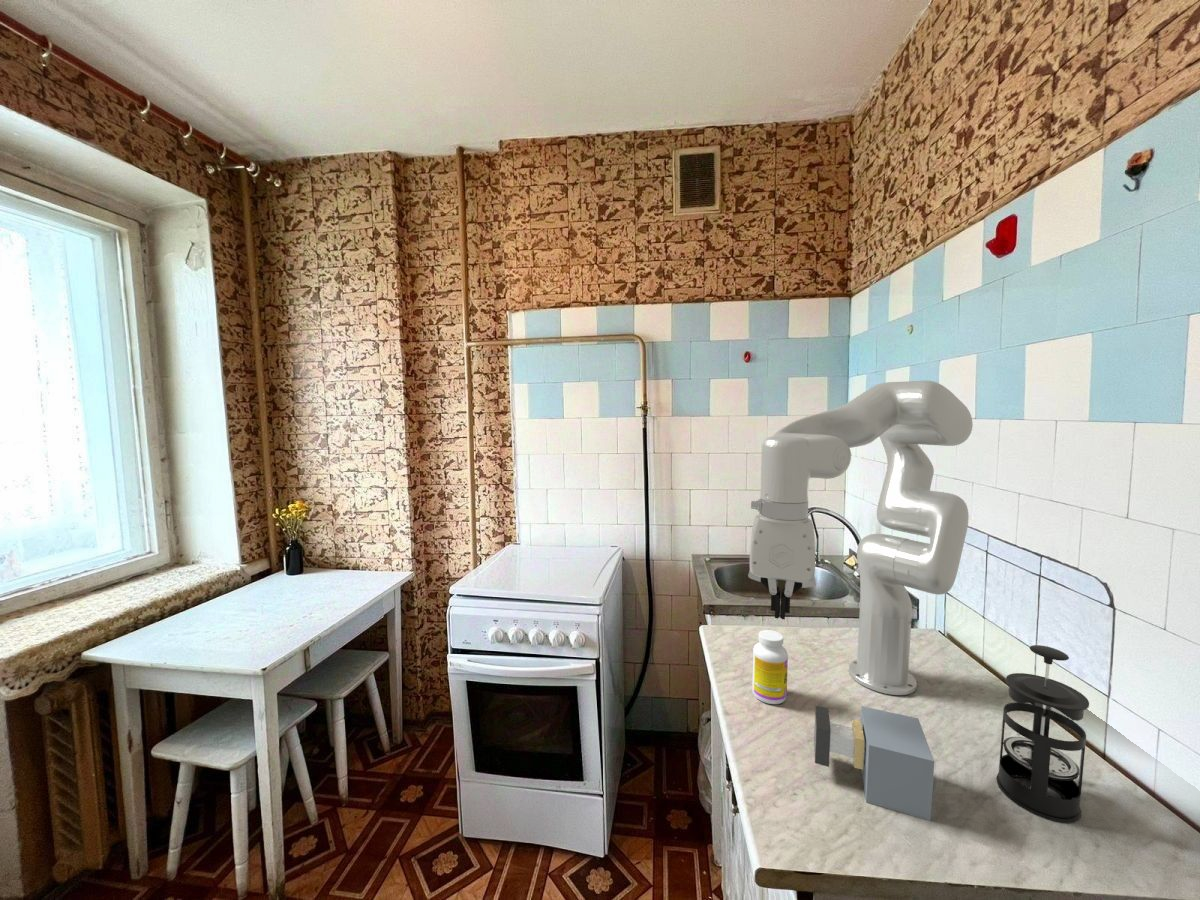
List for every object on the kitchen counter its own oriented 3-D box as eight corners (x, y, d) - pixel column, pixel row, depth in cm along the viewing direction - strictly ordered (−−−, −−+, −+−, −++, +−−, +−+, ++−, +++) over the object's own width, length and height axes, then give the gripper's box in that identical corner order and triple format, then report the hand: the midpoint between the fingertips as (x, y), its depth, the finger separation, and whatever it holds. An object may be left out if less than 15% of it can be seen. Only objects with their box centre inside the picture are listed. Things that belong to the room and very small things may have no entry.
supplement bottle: (789, 707, 92) (791, 644, 91) (754, 703, 93) (755, 641, 92) (783, 688, 98) (785, 629, 97) (750, 684, 100) (751, 626, 99)
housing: (858, 756, 79) (861, 705, 78) (915, 771, 76) (918, 718, 75) (866, 802, 70) (869, 745, 69) (930, 820, 67) (934, 761, 66)
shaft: (814, 738, 80) (815, 705, 79) (915, 764, 74) (917, 728, 73) (814, 763, 74) (816, 727, 74) (924, 792, 68) (926, 754, 68)
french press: (1083, 839, 64) (1098, 677, 62) (993, 799, 70) (1004, 652, 68) (1078, 788, 72) (1091, 645, 70) (998, 757, 79) (1008, 625, 77)
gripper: (734, 510, 78) (732, 617, 80) (834, 518, 72) (829, 633, 74) (740, 502, 85) (737, 600, 87) (831, 509, 79) (827, 614, 81)
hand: (780, 615), depth 80 cm, fingers closed
